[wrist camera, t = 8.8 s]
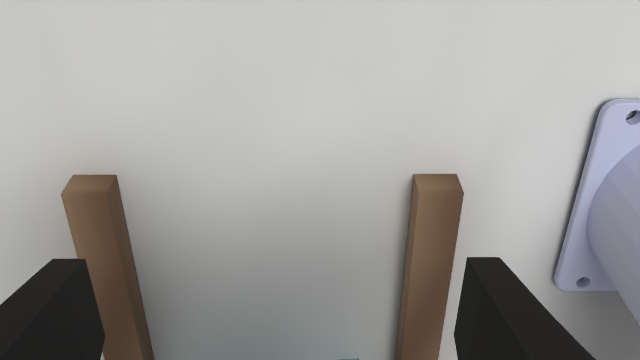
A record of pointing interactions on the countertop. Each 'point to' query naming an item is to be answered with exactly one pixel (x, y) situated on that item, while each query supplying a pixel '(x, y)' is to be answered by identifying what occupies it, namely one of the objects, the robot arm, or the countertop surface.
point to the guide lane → (124, 294)
